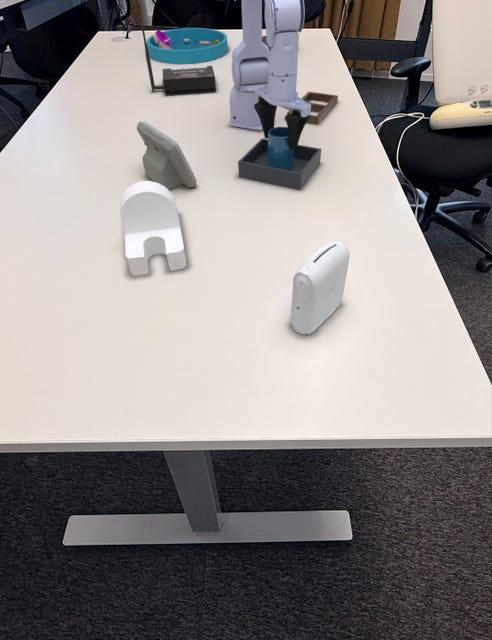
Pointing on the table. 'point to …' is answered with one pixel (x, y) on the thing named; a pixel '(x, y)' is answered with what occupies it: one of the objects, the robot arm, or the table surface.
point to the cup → (279, 149)
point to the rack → (319, 105)
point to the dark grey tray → (258, 169)
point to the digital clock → (164, 159)
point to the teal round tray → (187, 45)
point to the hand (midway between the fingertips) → (280, 142)
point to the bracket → (151, 227)
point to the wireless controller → (183, 78)
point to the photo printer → (319, 286)
